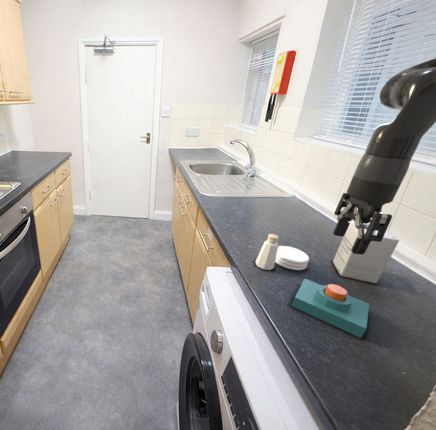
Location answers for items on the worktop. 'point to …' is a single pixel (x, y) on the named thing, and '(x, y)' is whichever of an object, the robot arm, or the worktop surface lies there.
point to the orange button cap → (335, 292)
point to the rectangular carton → (364, 256)
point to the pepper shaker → (268, 253)
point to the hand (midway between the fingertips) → (346, 243)
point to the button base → (332, 308)
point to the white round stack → (291, 258)
